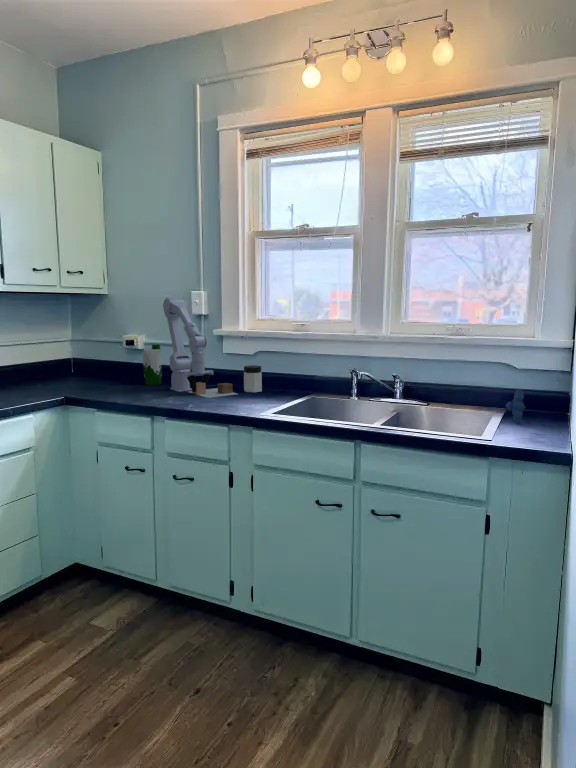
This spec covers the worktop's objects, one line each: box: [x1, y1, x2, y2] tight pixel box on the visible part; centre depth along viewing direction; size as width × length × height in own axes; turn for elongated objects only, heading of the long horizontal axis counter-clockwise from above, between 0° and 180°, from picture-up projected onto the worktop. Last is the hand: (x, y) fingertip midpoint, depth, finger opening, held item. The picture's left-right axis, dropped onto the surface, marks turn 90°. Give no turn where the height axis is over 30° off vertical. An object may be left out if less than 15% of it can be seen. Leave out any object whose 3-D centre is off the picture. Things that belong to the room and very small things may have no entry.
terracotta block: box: [191, 381, 207, 396], centre depth 247 cm, size 4×4×5 cm
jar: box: [243, 364, 263, 393], centre depth 254 cm, size 9×8×12 cm
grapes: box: [505, 388, 526, 425], centre depth 191 cm, size 12×7×12 cm, turn 156°
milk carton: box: [142, 344, 163, 386], centre depth 277 cm, size 9×9×20 cm
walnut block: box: [217, 382, 234, 394], centre depth 250 cm, size 5×5×4 cm
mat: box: [187, 387, 238, 399], centre depth 250 cm, size 20×16×1 cm
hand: (198, 391), depth 248 cm, fingers closed on terracotta block, 4 cm apart
